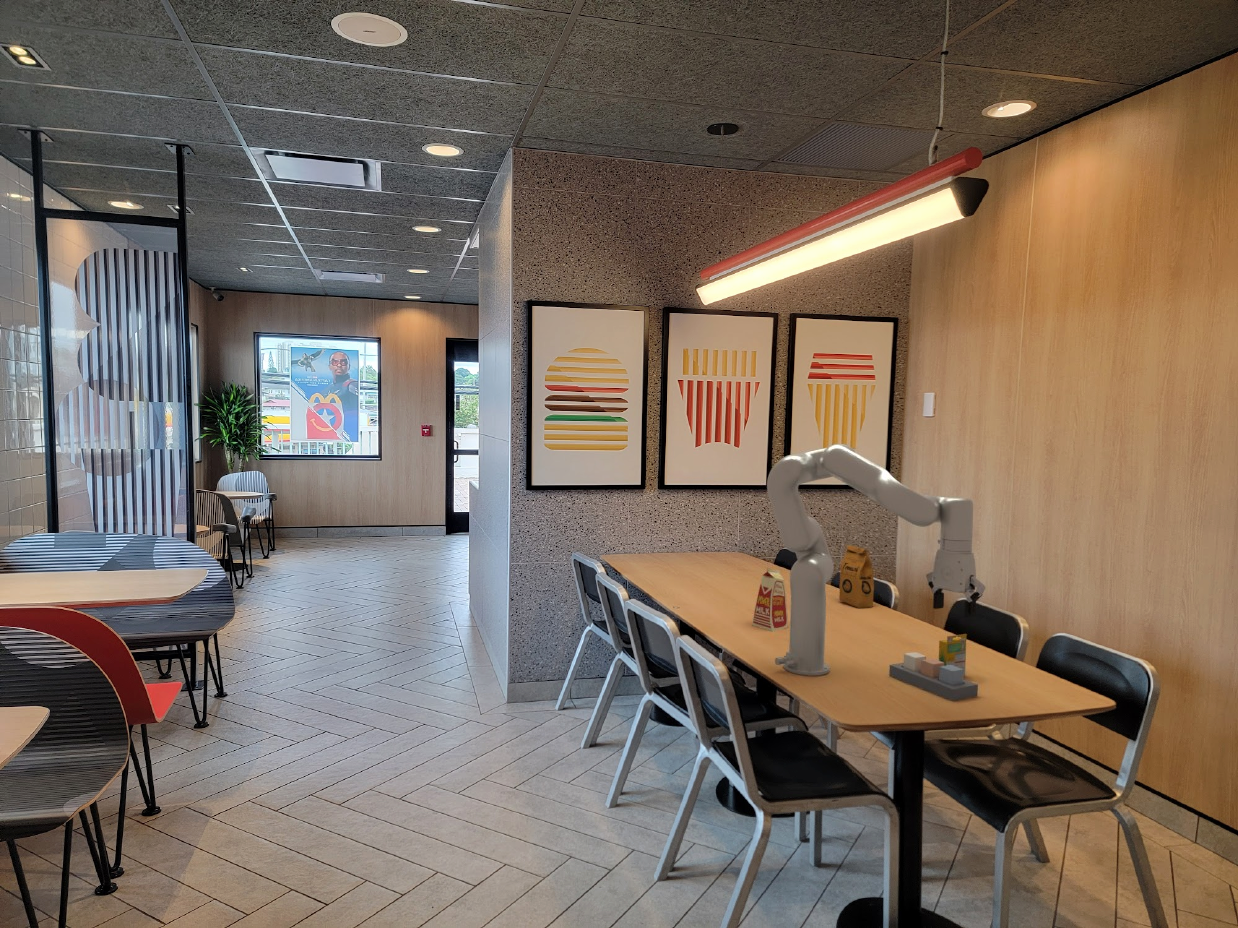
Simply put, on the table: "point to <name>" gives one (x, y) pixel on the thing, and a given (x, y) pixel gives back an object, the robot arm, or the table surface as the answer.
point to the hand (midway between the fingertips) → (953, 612)
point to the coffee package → (856, 578)
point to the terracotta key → (931, 667)
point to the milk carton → (771, 603)
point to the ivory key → (913, 661)
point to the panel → (934, 683)
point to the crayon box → (953, 651)
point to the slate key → (951, 675)
